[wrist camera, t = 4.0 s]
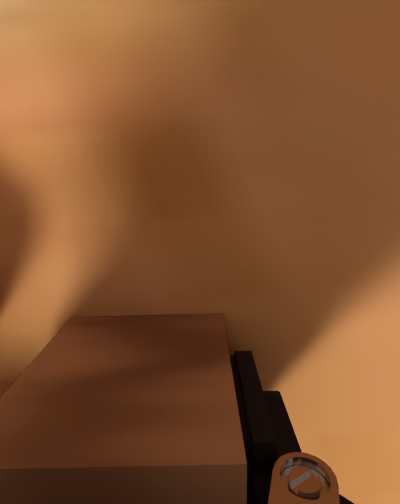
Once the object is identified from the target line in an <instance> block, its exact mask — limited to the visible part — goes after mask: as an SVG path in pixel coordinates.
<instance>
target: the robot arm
mask: <svg viewBox="0 0 400 504" xmlns="http://www.w3.org/2000/svg"><path fill="white" fill-rule="evenodd" d="M230 362H231V368H232V374H233V380H234V386H235V393H236V399H237V405H238V411H239V417H240V424H241V430H242V436H243V442H244V448H245V454H246V461H247V504H354V503H352V502H351V501H349V500H348V499H346V498H344V497H343V496H341V495H340V494H339V488H338V482H337V478H336V475H335V474H334V472H333V471H332V469H331V468H330V467H329V466H328V465H327V464H326V463H325V462H324V461H322V460H321V459H319V458H317V457H316V456H313V455H311V454H308V453H302V452H301V449H300V446H299V444H298V441H297V438H296V435H295V433H294V430H293V427H292V424H291V421H290V419H289V416H288V413H287V410H286V408H285V405H284V402H283V399H282V397H281V394H280V392H279V391H263V390H262V387H261V383H260V380H259V376H258V373H257V369H256V366H255V362H254V359H253V355H252V352H251V351H235V352H234V355H230Z"/></svg>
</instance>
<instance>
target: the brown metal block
mask: <svg viewBox="0 0 400 504" xmlns="http://www.w3.org/2000/svg"><path fill="white" fill-rule="evenodd" d="M0 504H247V461H246V454H245V448H244V442H243V436H242V430H241V424H240V417H239V411H238V405H237V399H236V393H235V386H234V380H233V374H232V368H231V362H230V356H229V349H228V343H227V337H226V331H225V325H224V318H223V314H183V315H135V316H88V317H71V318H70V319H69V320H68V321H67V322H66V324H65V325H64V326H63V327H62V328H61V329H60V330H59V332H58V333H57V334H56V335H55V336H54V337H53V338H52V340H51V341H50V342H49V343H48V344H47V345H46V346H45V348H44V349H43V350H42V351H41V352H40V353H39V354H38V356H37V357H36V358H35V359H34V360H33V361H32V362H31V364H30V365H29V366H28V367H27V368H26V369H25V370H24V372H23V373H22V374H21V375H20V376H19V377H18V378H17V380H16V381H15V382H14V383H13V384H12V385H11V386H10V388H9V389H8V390H7V391H6V392H5V393H4V394H3V396H2V397H1V398H0Z"/></svg>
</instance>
